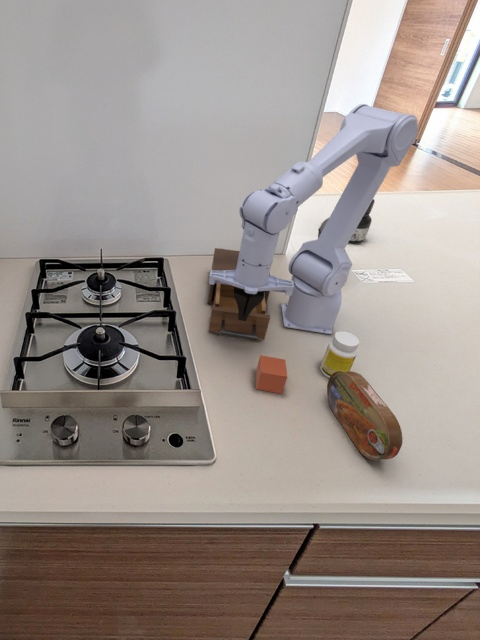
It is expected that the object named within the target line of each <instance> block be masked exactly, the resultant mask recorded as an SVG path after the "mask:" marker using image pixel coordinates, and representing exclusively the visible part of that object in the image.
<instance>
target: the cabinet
mask: <svg viewBox="0 0 480 640" xmlns="http://www.w3.org/2000/svg"><path fill="white" fill-rule="evenodd" d="M239 252H240V250H233V249H225V248H217V247H214V251H213V257H212V263H211V267H210V268H211V269H210V270H214V271H225V270H236V267H237V262H238V257H239ZM269 275H271V272H270V273H269ZM215 288H216V283H215V284H214V285H212V284H208V297H207V305H212V306H213V303H214V294H215ZM270 292H271V291H265V303H266V305H267V303H268V299H269V296H270Z"/></svg>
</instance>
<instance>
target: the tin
mask: <svg viewBox="0 0 480 640" xmlns="http://www.w3.org/2000/svg"><path fill="white" fill-rule="evenodd" d="M326 396H327V403H328V405H329V407H330V410H331V411H332V413H333V415H334V416H335V418H336V419H337V421H338V422H339V424H340V425H341V426H342V428H343V429H344V431H345V432H346V434H347V435H348V437H349V438H350V440H351V442H352V443H353V445H355V447H356V449H357V450H358V451H359V452H360V454H361V455H362V456H363V457H365V458H366V459H368V460H370V461H376V462H377V461H382V460H391V459H394V458H395V457H397V455H398V454H399V453H400V450H401V448H402V446H403V431H402V428H401V425H400V423H399V420H398V419H397V417H396V415H395V414H394V413H393V411H392V410H391V409H390V408H389V406H388V405H387V404H386V403H385V401H384V399H382V398H381V396H379V394H378V393H377V392H376V390H374V388H373V387H372V386H371V384H370V383H369V382H368V380H366V378H365V377H364V376H363V375H361V373H358V372H355V371H349V372H343V371H337V372H334V373H333V374H332V375H331V376H330V378H328V381H327V385H326Z"/></svg>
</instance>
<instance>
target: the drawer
mask: <svg viewBox="0 0 480 640" xmlns="http://www.w3.org/2000/svg"><path fill="white" fill-rule="evenodd" d="M266 306H267V304H266V303H265V291H264V299H263V300H262V302H260V303H259V304H258V305H257V306H256V307H255V308H254V309H253V310H252V311H251V313H250V314H249V316H248V317H247V319H246V321H241V320H238V313H239V311H238V306H237V302H236V300H235V297H234V286H232V285H226V284H219V283H216V288H215V294H214V303H213V305H212V307H211V311H210V317H209V322H208V329H207V330H208V331H209V332H215V333H219V337H223V338H229V339H234V340H241V341H247V342H252V343H257V342H258V341H259V340H262V341H264V340H265V339H266V334H267V331H268V328H269V324H270V321H271V314H269V313H268V314H267V307H266Z"/></svg>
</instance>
